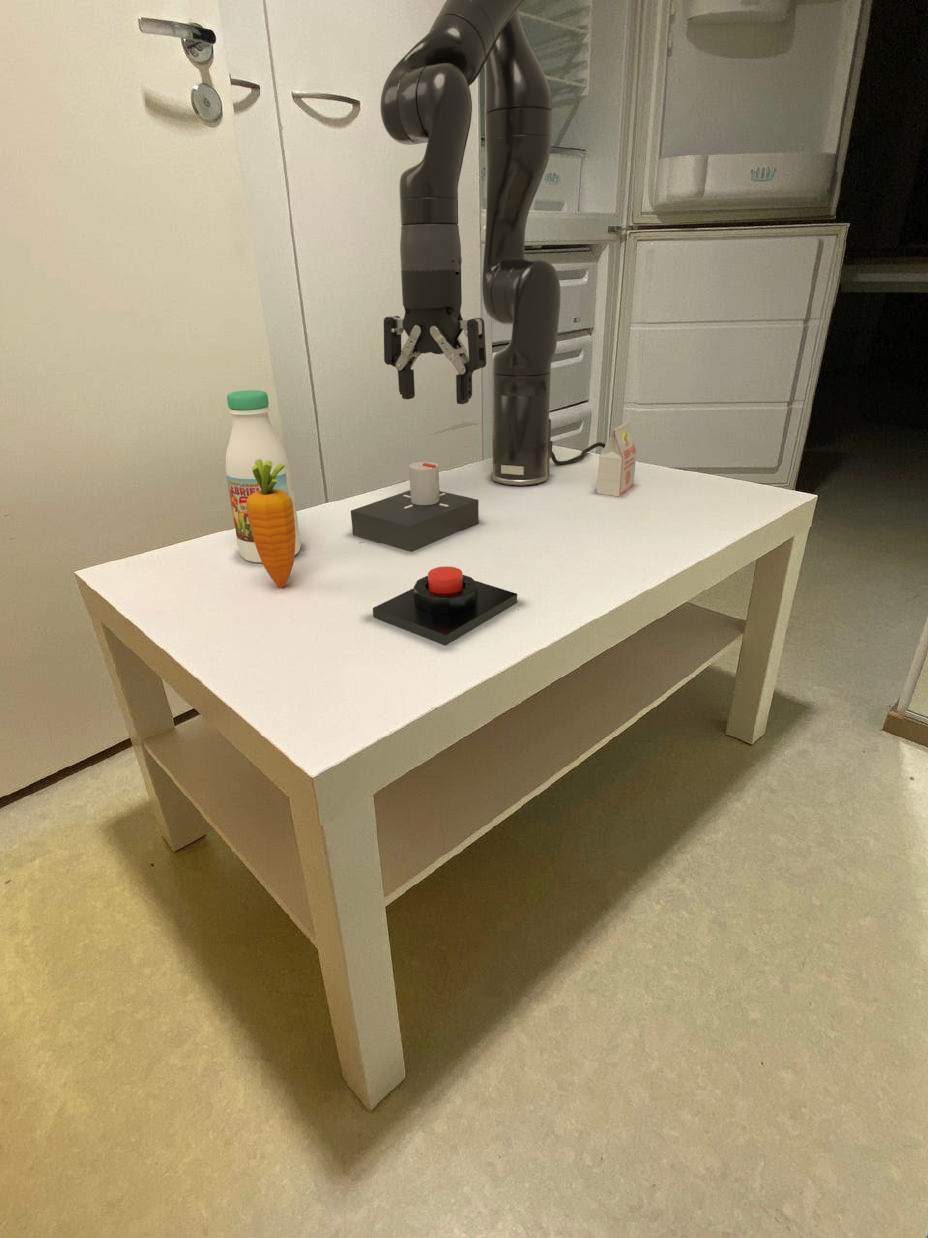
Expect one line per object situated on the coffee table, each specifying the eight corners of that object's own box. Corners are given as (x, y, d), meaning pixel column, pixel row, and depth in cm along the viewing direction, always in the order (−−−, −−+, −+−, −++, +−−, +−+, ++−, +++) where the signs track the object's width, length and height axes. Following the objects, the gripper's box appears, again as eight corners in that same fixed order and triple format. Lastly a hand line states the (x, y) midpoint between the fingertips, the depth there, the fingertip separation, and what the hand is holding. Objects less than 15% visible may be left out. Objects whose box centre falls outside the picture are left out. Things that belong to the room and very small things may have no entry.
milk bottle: (250, 542, 94) (225, 387, 85) (307, 542, 94) (288, 386, 85) (231, 564, 87) (202, 398, 78) (293, 564, 87) (270, 397, 78)
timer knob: (405, 501, 97) (402, 463, 95) (424, 494, 100) (422, 457, 98) (426, 507, 95) (424, 468, 93) (445, 499, 98) (444, 462, 95)
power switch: (447, 580, 82) (446, 556, 80) (517, 603, 76) (517, 578, 75) (373, 618, 74) (370, 592, 72) (445, 646, 68) (444, 618, 66)
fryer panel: (421, 508, 106) (420, 485, 104) (478, 523, 99) (478, 498, 98) (352, 534, 96) (350, 509, 95) (411, 552, 90) (409, 525, 88)
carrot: (263, 580, 83) (243, 453, 76) (306, 578, 83) (289, 451, 76) (256, 597, 78) (233, 465, 72) (300, 595, 79) (283, 463, 72)
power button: (443, 578, 76) (443, 563, 75) (469, 586, 74) (469, 571, 73) (421, 589, 73) (420, 574, 73) (447, 598, 71) (447, 582, 71)
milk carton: (596, 493, 111) (601, 429, 107) (611, 482, 116) (616, 421, 112) (618, 496, 110) (624, 431, 105) (633, 485, 115) (639, 423, 110)
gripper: (366, 267, 88) (375, 401, 95) (467, 266, 81) (468, 409, 89) (399, 267, 93) (406, 393, 101) (495, 265, 87) (494, 400, 95)
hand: (435, 400), depth 95 cm, fingers open, 8 cm apart
